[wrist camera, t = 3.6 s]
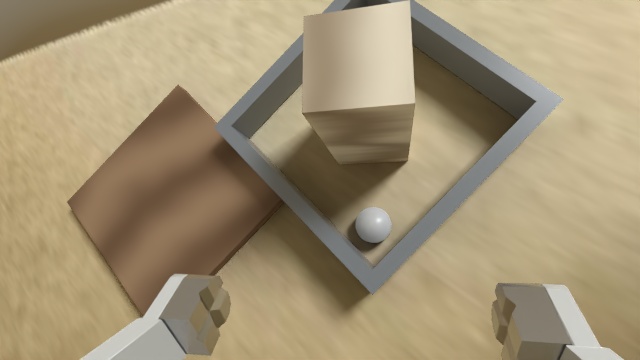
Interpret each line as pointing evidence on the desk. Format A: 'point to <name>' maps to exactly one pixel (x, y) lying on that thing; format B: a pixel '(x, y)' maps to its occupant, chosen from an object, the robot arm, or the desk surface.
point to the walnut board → (172, 200)
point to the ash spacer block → (360, 82)
